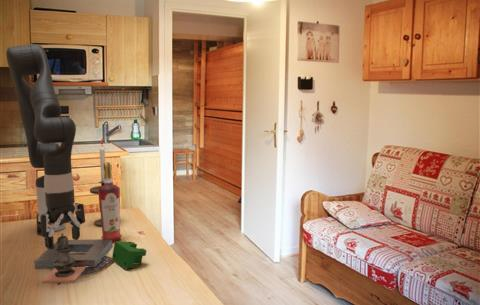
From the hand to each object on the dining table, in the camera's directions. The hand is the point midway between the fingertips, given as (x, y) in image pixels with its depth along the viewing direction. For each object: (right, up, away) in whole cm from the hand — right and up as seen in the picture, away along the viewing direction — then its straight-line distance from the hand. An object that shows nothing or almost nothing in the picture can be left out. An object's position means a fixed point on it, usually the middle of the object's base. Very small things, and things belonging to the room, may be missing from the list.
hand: (63, 243), depth 121 cm
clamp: (+16, -8, +10) cm, 21 cm away
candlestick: (-3, -3, +50) cm, 50 cm away
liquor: (+5, -5, +30) cm, 31 cm away
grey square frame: (-2, -7, +15) cm, 17 cm away
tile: (0, -9, +1) cm, 9 cm away
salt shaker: (0, -9, +1) cm, 9 cm away
